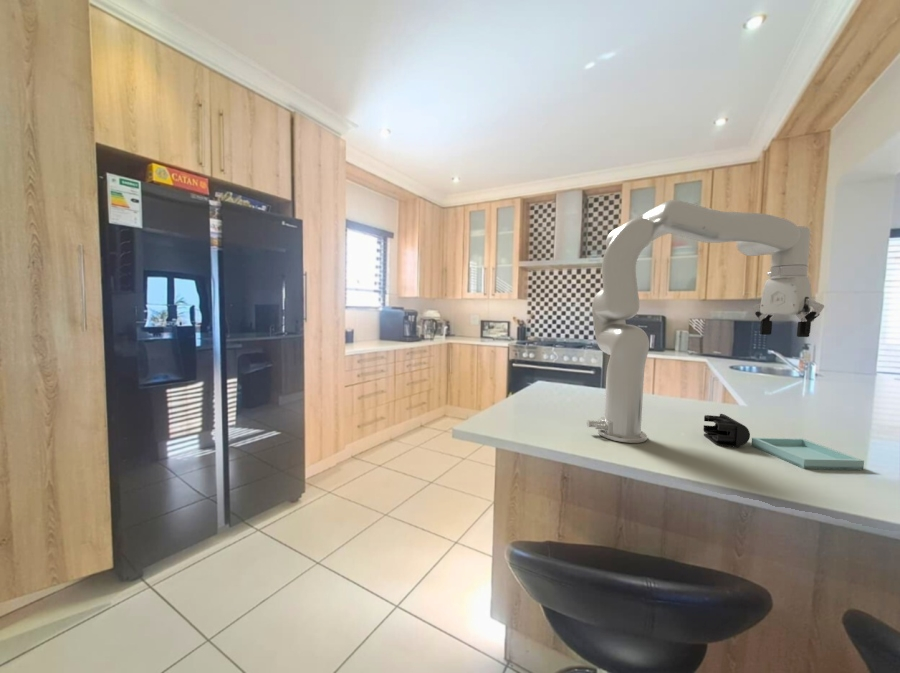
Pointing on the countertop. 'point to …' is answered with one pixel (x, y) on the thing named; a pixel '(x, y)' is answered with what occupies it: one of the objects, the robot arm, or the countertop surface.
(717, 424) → the end cap
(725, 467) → the countertop surface
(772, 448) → the tray
